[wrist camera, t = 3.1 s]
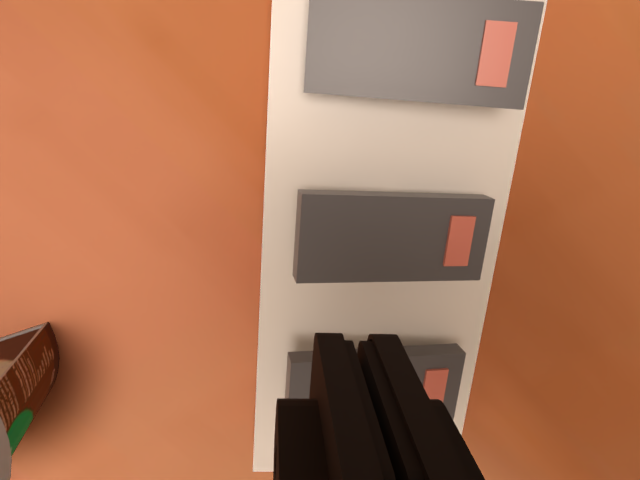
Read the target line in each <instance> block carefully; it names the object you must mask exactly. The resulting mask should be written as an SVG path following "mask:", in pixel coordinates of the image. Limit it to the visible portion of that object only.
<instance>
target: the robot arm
mask: <svg viewBox="0 0 640 480" xmlns="http://www.w3.org/2000/svg"><path fill="white" fill-rule="evenodd" d="M273 480H485V479H484V477H483V475H482V473H481V471H480V469H479V468H478V466H477V464H476V462H475V460H474V458H473V456H472V455H471V453H470V451H469V449H468V447H467V445H466V443H465V441H464V440H463V438H462V436H461V434H460V432H459V430H458V428H457V427H456V425H455V423H454V421H453V419H452V417H451V415H450V413H449V412H448V410H447V408H446V406H445V405H444V403H443V402H442V401H441V400H439V399H429V397H428V395H427V393H426V391H425V389H424V387H423V385H422V383H421V381H420V379H419V377H418V375H417V373H416V371H415V369H414V367H413V365H412V363H411V361H410V359H409V357H408V355H407V353H406V351H405V349H404V347H403V345H402V343H401V341H400V339H399V337H398V335H397V334H369V336H368V339H367V341H359V344H358V350H357V352H356V349H355V346H354V343H353V341H352V340H344V336H343V334H342V333H315V336H314V344H313V356H312V368H311V380H310V393H309V399H292V398H277V403H276V417H275V436H274V470H273Z"/></svg>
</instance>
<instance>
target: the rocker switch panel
mask: <svg viewBox="0 0 640 480" xmlns="http://www.w3.org/2000/svg"><path fill="white" fill-rule="evenodd" d="M526 1H540V2H544V7H543V12H542V17H541V23H540V28H539V33H538V38H537V43H536V48H535V53H534V58H533V63H532V68H531V74H530V79H529V84H528V89H527V94H526V99H525V104H524V109H523V110H517V109H505V108H492V107H480V106H467V105H454V104H442V103H429V102H416V101H404V100H391V99H378V98H366V97H353V96H340V95H328V94H315V93H303V92H304V76H305V60H306V44H307V28H308V12H309V0H272V15H271V39H270V64H269V88H268V113H267V137H266V162H265V186H264V211H263V235H262V260H261V284H260V309H259V333H258V358H257V382H256V406H255V431H254V455H253V472H273V470H274V436H275V417H276V403H277V398H285V387H286V371H287V355H288V352H296V351H313V344H314V336H315V333H342V334H343V336H344V340H352V341H353V343H354V346H355V348H358V344H359V341H367V339H368V336H369V334H397V335H398V337H399V339H400V341H401V343H402V345H403V346H413V345H433V344H452V343H457V344H458V345H459V346H460V347H461V348H462V349H463V351H464V352H465V353H466V357H465V362H464V367H463V373H462V378H461V383H460V388H459V394H458V399H457V404H456V410H455V415H454V419H453V421H454V423H455V425H456V427H457V428H458V430H459V432H460V434H461V436H462V431H463V425H464V420H465V415H466V410H467V405H468V400H469V395H470V390H471V385H472V380H473V375H474V370H475V365H476V360H477V355H478V349H479V344H480V339H481V334H482V329H483V324H484V319H485V314H486V309H487V304H488V299H489V294H490V289H491V284H492V278H493V273H494V268H495V263H496V258H497V253H498V248H499V243H500V238H501V233H502V228H503V223H504V218H505V213H506V208H507V202H508V197H509V192H510V187H511V182H512V177H513V172H514V167H515V162H516V157H517V152H518V147H519V142H520V137H521V132H522V126H523V121H524V116H525V111H526V106H527V101H528V96H529V91H530V86H531V81H532V76H533V71H534V66H535V61H536V55H537V50H538V45H539V40H540V35H541V30H542V25H543V20H544V15H545V10H546V5H547V0H526ZM298 189H313V190H347V191H382V192H416V193H451V194H484V195H486V196H489V197H491V198H493V199H495V203H494V209H493V214H492V219H491V224H490V230H489V235H488V240H487V246H486V251H485V256H484V261H483V267H482V272H481V277H480V280H468V281H411V282H354V283H297V284H296V282H295V280H294V277H293V275H292V274H293V258H294V242H295V226H296V210H297V194H298Z"/></svg>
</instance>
